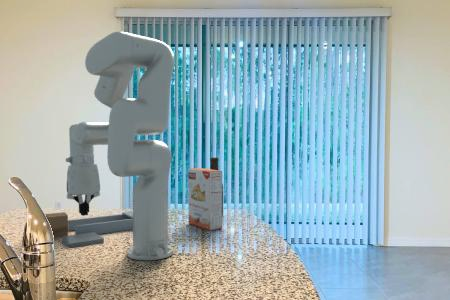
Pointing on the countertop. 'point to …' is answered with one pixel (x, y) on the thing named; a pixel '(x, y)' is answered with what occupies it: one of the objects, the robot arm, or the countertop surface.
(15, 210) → the countertop surface
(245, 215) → the countertop surface
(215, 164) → the beer bottle
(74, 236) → the coaster
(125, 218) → the channel
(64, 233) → the block
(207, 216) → the cracker box
